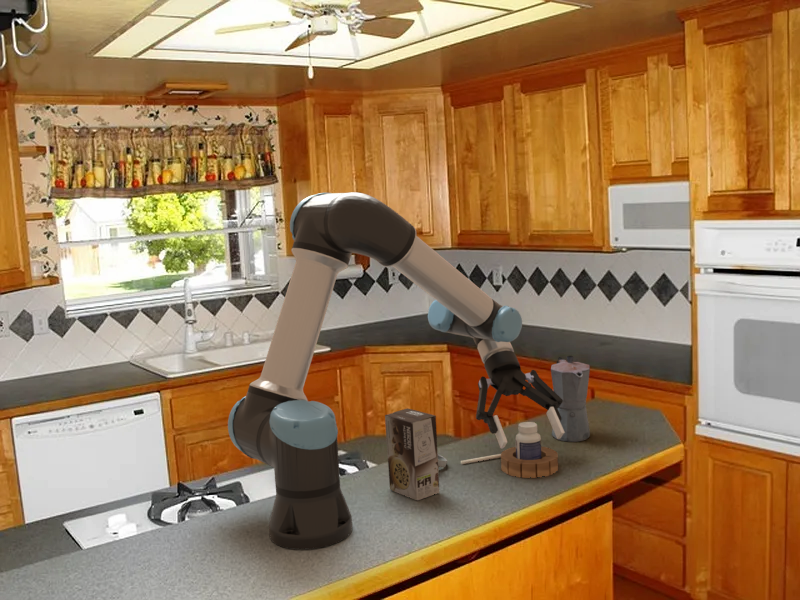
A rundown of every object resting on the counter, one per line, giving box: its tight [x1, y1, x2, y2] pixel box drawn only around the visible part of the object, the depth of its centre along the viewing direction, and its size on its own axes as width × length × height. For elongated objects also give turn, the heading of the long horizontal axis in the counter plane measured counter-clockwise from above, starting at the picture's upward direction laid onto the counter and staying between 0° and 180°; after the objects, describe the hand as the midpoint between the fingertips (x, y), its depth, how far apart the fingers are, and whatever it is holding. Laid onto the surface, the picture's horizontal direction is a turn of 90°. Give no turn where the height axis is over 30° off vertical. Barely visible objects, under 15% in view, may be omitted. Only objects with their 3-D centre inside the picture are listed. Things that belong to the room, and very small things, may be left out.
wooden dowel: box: [460, 453, 501, 465], centre depth 186 cm, size 16×1×1 cm, turn 110°
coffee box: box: [384, 408, 440, 501], centre depth 168 cm, size 9×6×16 cm
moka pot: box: [550, 354, 591, 443], centre depth 197 cm, size 10×15×20 cm, turn 14°
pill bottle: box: [515, 421, 542, 460], centre depth 178 cm, size 5×5×10 cm
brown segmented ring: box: [500, 445, 559, 479], centre depth 178 cm, size 12×12×3 cm
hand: (532, 440), depth 176 cm, fingers open, 13 cm apart
